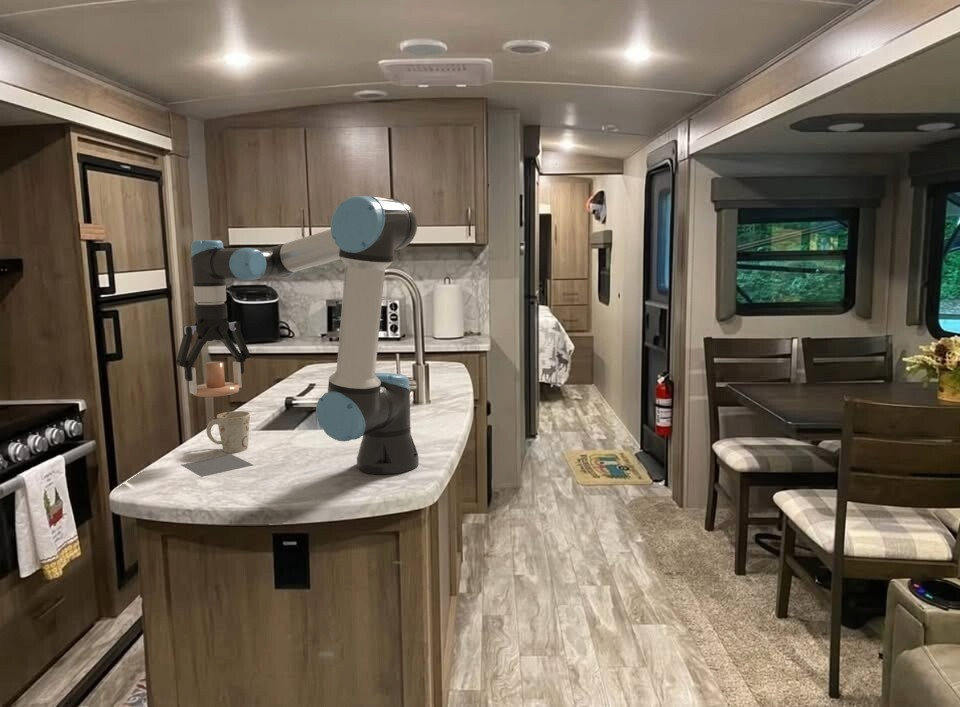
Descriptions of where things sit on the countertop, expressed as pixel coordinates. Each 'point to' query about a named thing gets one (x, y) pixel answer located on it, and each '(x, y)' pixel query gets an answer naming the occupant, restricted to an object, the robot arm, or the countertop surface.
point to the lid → (216, 382)
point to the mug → (231, 430)
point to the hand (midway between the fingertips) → (216, 390)
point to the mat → (216, 465)
